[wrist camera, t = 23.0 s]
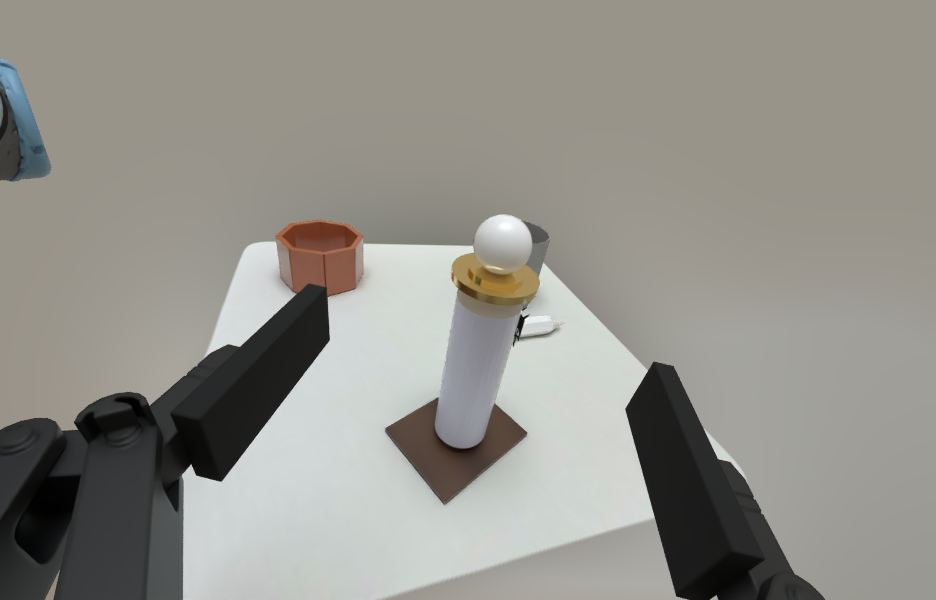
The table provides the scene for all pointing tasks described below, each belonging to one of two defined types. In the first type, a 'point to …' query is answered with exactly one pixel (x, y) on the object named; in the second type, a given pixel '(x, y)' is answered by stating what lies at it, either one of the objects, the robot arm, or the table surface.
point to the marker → (538, 325)
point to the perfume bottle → (484, 326)
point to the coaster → (451, 449)
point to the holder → (320, 255)
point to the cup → (537, 248)
